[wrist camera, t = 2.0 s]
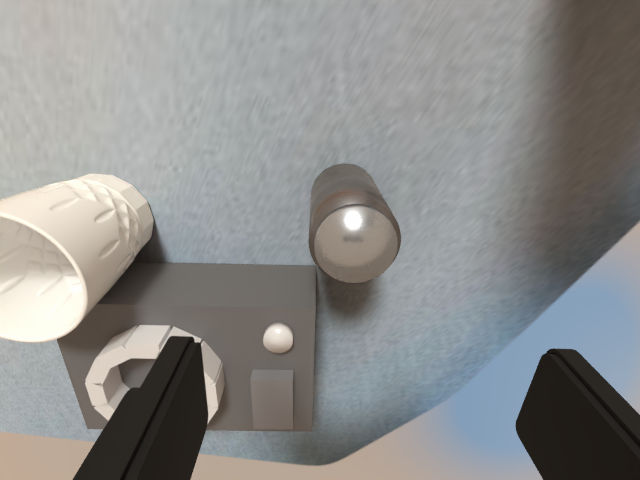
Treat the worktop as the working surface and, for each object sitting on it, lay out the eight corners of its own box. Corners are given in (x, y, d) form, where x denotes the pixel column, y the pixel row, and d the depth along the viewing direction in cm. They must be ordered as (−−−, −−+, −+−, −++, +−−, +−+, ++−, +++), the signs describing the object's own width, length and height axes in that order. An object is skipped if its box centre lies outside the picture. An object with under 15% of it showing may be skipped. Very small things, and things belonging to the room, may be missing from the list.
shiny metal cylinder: (379, 164, 26) (409, 202, 18) (373, 227, 28) (397, 288, 20) (311, 162, 26) (309, 200, 18) (310, 226, 28) (307, 286, 20)
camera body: (315, 265, 29) (315, 327, 22) (312, 375, 34) (311, 455, 27) (95, 261, 29) (21, 322, 22) (124, 372, 34) (71, 452, 27)
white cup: (128, 278, 30) (44, 365, 21) (38, 217, 27) (-101, 285, 18) (182, 213, 27) (115, 279, 18) (89, 141, 25) (-41, 176, 16)
